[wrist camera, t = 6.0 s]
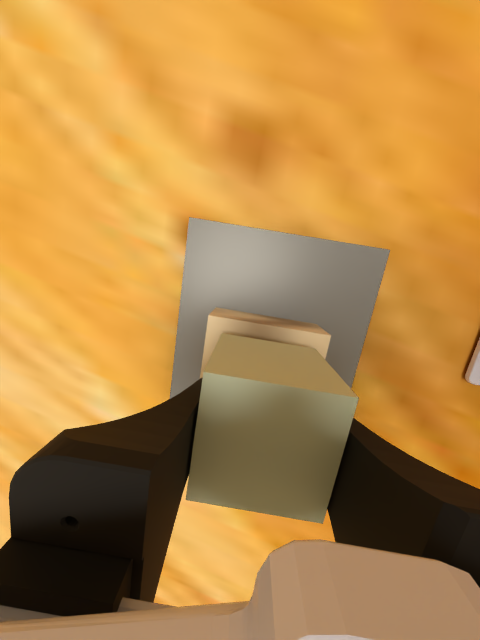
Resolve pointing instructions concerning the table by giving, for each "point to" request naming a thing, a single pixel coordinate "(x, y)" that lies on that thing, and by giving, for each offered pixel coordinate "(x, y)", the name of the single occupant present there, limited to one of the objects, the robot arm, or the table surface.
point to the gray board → (275, 289)
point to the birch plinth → (262, 331)
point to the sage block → (269, 429)
